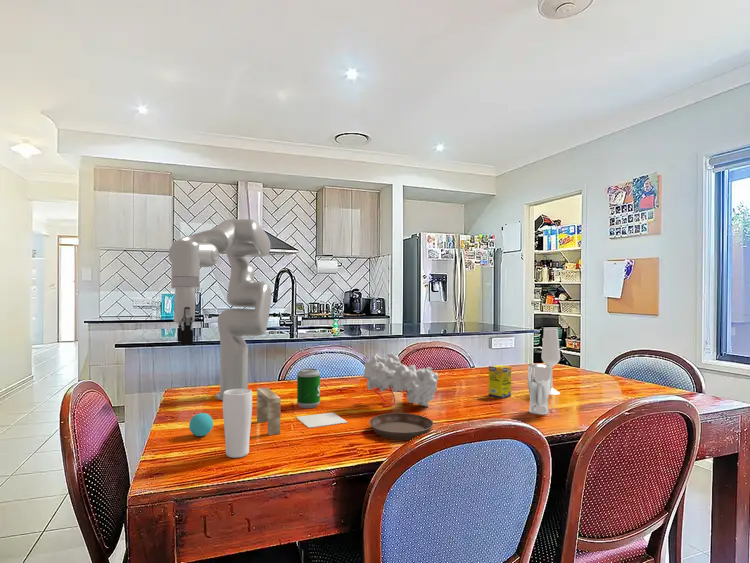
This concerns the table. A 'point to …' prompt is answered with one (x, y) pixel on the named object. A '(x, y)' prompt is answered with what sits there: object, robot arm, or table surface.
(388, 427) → the plant saucer
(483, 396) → the table surface
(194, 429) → the ball
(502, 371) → the supplement box
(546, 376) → the white vase
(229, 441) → the drinking glass
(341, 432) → the table surface
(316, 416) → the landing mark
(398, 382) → the molecular structure model
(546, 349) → the champagne flute
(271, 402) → the bridge
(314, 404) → the soda can
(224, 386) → the robot arm
